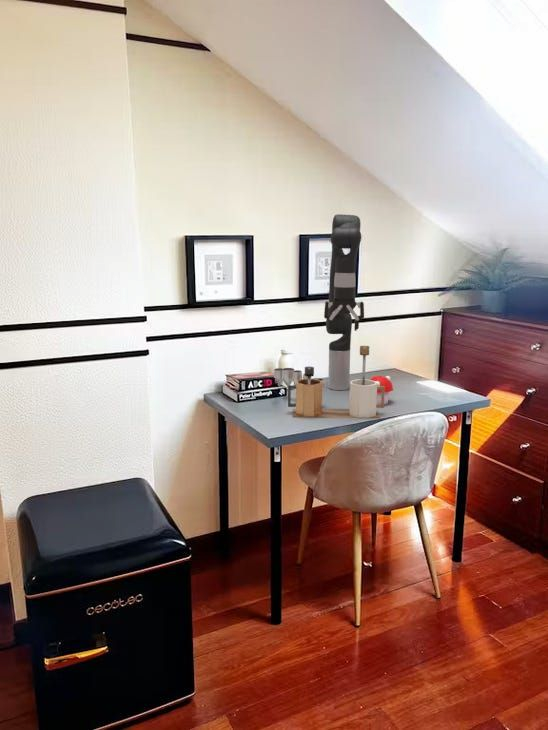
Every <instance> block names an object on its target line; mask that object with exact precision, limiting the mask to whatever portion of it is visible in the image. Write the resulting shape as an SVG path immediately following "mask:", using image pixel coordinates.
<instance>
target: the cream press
mask: <svg viewBox="0 0 548 730" xmlns="http://www.w3.org/2000/svg"><path fill="white" fill-rule="evenodd" d="M377 390H381V404H376V402H377ZM384 394H385V387H384V386H377V383H376V381H372V380H370V379H367V378H365V385H362V378H361V379H352V380H349V399H348V400H349V401H348V402H349V405H348V408H349V414H350V415H351V416H355V417H359V418H358V419H371V418H370V417H373V416H376V410H377V409H378V408H379V409H385V404H384Z"/></svg>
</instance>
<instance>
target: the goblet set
mask: <svg viewBox="0 0 548 730" xmlns="http://www.w3.org/2000/svg"><path fill="white" fill-rule="evenodd" d="M302 372H303V371H302V370H298V369H295V368H293V367H284V368H281V367H278V368H277V367H275V368H274V369H273V378H275V379H274V381H275V382H276V381H277V382H276V383H278V384H277V385H278V386H279V387H280V388H281V385H282V383H283V382H284V384H285V386H286V389H287V391H288V385H292V384H294V385H296V380H301V379H308V376H305V373H302ZM312 379H317V380H321V381H322V392H323V391H324V390H325V381H324V379H323V378H320V377H319V378H318V377H314V378H312ZM279 387H278V388H279Z"/></svg>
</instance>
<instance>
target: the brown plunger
mask: <svg viewBox="0 0 548 730" xmlns="http://www.w3.org/2000/svg"><path fill="white" fill-rule="evenodd" d="M359 356H362V372H361V373H362V375H361V376H362V377H361V379H362V385H365V379H366V360H367V359H366V358H367V357H366V356H370V346H369V345H360V346H359Z"/></svg>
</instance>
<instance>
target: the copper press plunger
mask: <svg viewBox="0 0 548 730" xmlns="http://www.w3.org/2000/svg"><path fill="white" fill-rule="evenodd" d="M304 374H305V376H308V385H310V383H311V379H312V377H314V376H315V367H314V366H304Z"/></svg>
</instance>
